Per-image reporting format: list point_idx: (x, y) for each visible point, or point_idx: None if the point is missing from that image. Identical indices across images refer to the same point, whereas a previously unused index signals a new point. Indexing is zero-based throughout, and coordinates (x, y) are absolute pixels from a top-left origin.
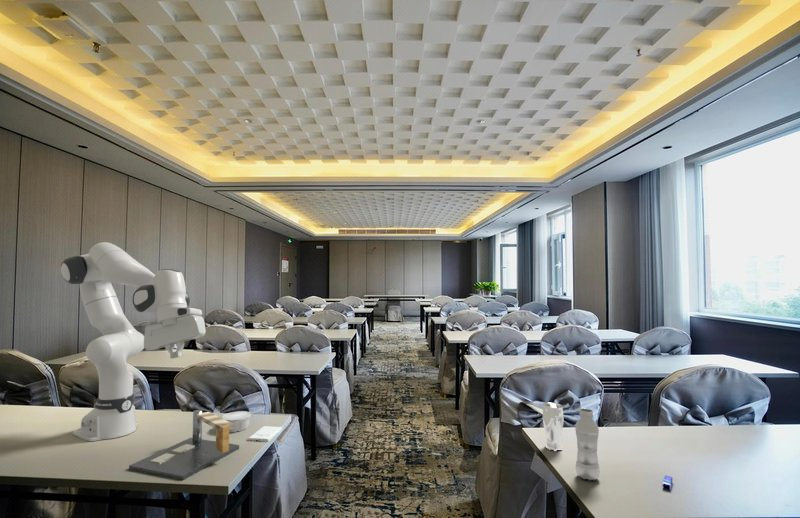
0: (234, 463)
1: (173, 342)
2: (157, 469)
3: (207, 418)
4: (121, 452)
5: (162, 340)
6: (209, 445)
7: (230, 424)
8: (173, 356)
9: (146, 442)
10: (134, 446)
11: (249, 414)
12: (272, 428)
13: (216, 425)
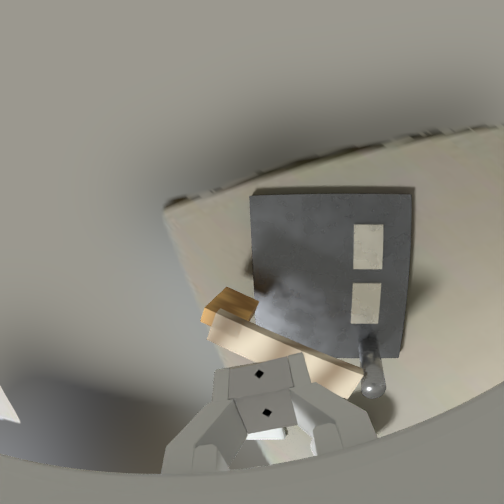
0: (214, 288)
1: (235, 471)
2: (331, 199)
3: (306, 357)
4: (494, 256)
5: (432, 477)
6: (320, 336)
7: (209, 334)
8: (265, 362)
9: (484, 314)
10: (492, 290)
11: (316, 455)
12: (257, 432)
13: (243, 323)
